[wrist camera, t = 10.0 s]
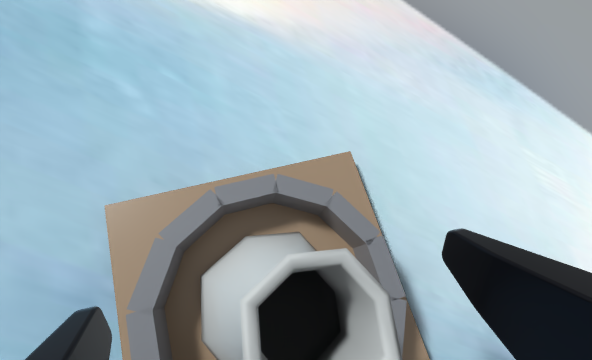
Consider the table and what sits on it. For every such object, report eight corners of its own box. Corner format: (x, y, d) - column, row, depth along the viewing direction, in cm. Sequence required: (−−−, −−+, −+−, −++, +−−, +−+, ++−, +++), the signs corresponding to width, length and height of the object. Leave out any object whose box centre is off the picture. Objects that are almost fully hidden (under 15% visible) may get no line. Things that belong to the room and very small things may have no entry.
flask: (305, 211, 17) (383, 119, 8) (366, 339, 15) (562, 424, 6) (177, 266, 15) (66, 234, 5) (230, 422, 13) (202, 759, 4)
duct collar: (433, 394, 16) (474, 417, 13) (153, 531, 12) (126, 603, 9) (345, 157, 20) (362, 136, 17) (112, 210, 16) (85, 194, 13)
